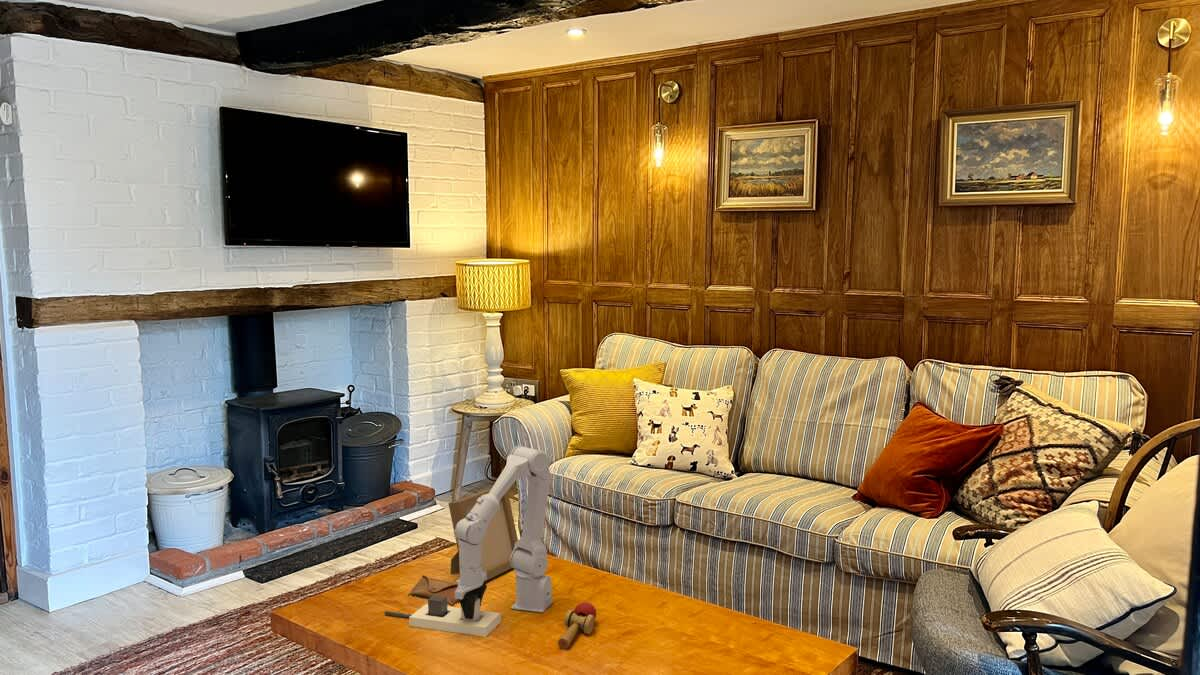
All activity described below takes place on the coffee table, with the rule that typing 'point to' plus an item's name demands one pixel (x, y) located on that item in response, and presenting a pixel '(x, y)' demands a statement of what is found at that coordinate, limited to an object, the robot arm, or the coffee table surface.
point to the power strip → (449, 618)
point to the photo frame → (489, 534)
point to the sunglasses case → (435, 589)
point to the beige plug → (476, 612)
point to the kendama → (578, 622)
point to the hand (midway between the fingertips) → (472, 615)
